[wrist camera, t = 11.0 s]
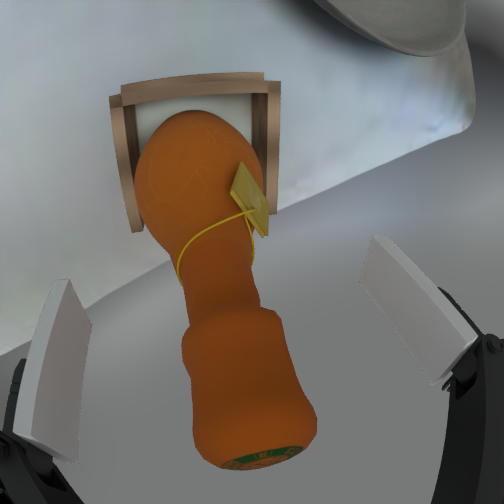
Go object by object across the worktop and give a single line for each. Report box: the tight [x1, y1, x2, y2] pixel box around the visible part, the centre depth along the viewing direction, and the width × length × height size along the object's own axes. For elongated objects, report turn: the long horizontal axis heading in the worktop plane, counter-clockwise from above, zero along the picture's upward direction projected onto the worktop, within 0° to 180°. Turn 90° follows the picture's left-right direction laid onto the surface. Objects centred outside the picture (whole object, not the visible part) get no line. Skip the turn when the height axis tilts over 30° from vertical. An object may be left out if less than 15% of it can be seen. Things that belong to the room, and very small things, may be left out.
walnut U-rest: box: [109, 72, 281, 233], centre depth 27 cm, size 16×16×7 cm
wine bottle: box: [134, 110, 317, 470], centre depth 17 cm, size 10×10×30 cm
